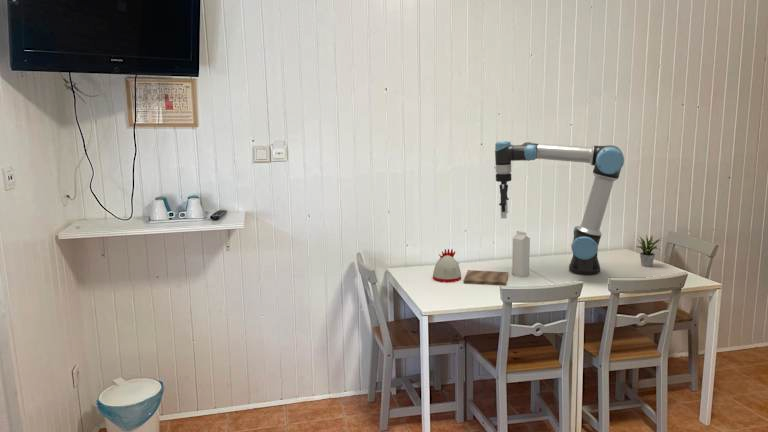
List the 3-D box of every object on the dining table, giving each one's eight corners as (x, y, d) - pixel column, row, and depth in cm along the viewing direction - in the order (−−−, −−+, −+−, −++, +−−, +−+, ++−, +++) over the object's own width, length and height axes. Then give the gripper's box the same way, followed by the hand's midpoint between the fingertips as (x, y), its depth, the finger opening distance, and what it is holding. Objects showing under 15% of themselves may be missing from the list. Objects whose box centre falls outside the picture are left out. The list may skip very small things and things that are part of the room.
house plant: (664, 270, 311) (666, 239, 308) (634, 269, 315) (636, 237, 312) (661, 263, 324) (663, 232, 321) (632, 261, 329) (634, 231, 325)
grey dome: (464, 281, 301) (464, 251, 299) (436, 283, 299) (436, 253, 296) (456, 273, 315) (456, 244, 312) (430, 275, 313) (429, 246, 310)
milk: (521, 277, 306) (521, 233, 301) (511, 274, 310) (512, 231, 306) (529, 275, 309) (530, 231, 305) (519, 272, 314) (520, 229, 310)
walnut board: (508, 274, 310) (508, 271, 310) (505, 285, 293) (505, 282, 293) (468, 272, 315) (468, 270, 315) (463, 283, 298) (463, 280, 298)
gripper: (497, 170, 317) (498, 211, 321) (494, 176, 293) (495, 220, 297) (512, 169, 316) (512, 211, 319) (510, 176, 292) (511, 220, 295)
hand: (504, 215), depth 308 cm, fingers open, 13 cm apart
